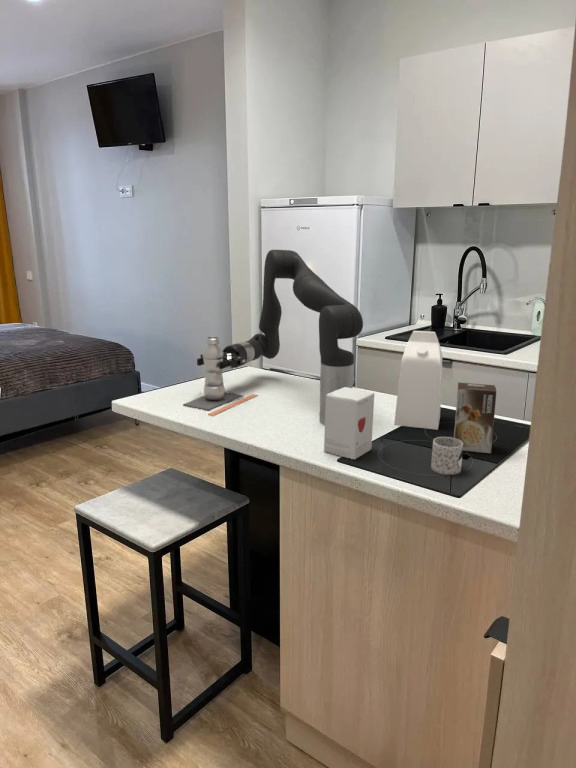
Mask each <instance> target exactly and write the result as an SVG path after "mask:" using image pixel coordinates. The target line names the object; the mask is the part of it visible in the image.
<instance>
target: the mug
mask: <svg viewBox="0 0 576 768" xmlns="http://www.w3.org/2000/svg"><path fill="white" fill-rule="evenodd" d="M430 462H431V464H430V469H431V470H432V471H433V472H435V473H438V474H439V475H440V474H441V475H445V476H454V475H455V476H456V475H458V474H461V472H462V462H463V442H462V441H461V440H459V439H456V438H454V437H452V436H437V437H435V438H434V439H433V441H432V450H431V461H430Z"/></svg>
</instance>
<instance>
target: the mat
mask: <svg viewBox="0 0 576 768" xmlns="http://www.w3.org/2000/svg"><path fill="white" fill-rule="evenodd" d="M241 397H244V396H243V394H242V393H241V394H239V393H234V392H229V391H225V395H224V397H223V398H222V399H219V400H209V399H207V398H206V397H205V395H203V396H201V397H197V398H195V399H193V400H190V401H187V402H185V403H183V404H182V407H186V406H187V408H191V407H192V409H196V408H197V409H196V410H201V409H202V410H203V411H206V412H207V411H208V412H211V411H212V410H215V409H217V408H219V407H221V406H223V405H224V406H225V405H227V404H229V403H230V402H231V403H232V402H233V401H235V400H239V398H241ZM202 410H201V411H202Z"/></svg>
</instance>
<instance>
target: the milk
mask: <svg viewBox="0 0 576 768" xmlns="http://www.w3.org/2000/svg"><path fill="white" fill-rule="evenodd" d="M442 377H443V352H442V349H441V345H440V341H439V339H438V336H437V334H436V332H435V331H424V330H423V331H422V330H413V331H412V333H411V334H410V337H409V339H408V341H407V344H406V346H405V349H404V352H403V354H402V357H401V361H400V369H399V378H398V388H397V396H396V405H395V412H394V414H395V415H394V422H393V423H394V426H401V427H409V428H410V427H411V428H418V429H419V428H420V429H428V430H437V431H438V430H439V425H440V419H441V406H442V405H441V403H442V382H443V381H442V380H443V379H442Z"/></svg>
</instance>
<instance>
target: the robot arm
mask: <svg viewBox="0 0 576 768" xmlns="http://www.w3.org/2000/svg"><path fill="white" fill-rule="evenodd" d="M265 256H266V257H265V261H264V268H263V270H264V271H263V286H262V287H263V288H262V289H263V290H262V291H263V292H262V293H263V294H262V307H261V312H260V313H261V314H260V318H259V325H258V329H259V331H260V332H261V333H255V334H254V335H253V336H252V337H251V338H250V339H248V340H246V341H241V342H237V343H234V344H230V345H227V346H225V347H224V348H223V349H222V351H223V354H224V357H223V361H221V362H219V369H222V370H223V369H227V368H231V369H236V368H239V367H242V366H244V365H246V364H248V363H250V362H253V361H256V360H258V359H259V358H261V356H262V357H264V358H266V359H269V360H272V359H275V357H277V355H278V354H279V353H280V352H279V351H280V348H281V344H280V330H279V329H280V323H281V319H282V313H283V312H282V305H281V303H280V301H279V298H278V295H277V293H276V288H275V282H276V279H284V280H285V279H291V280H294V281H293V282H292V283H293V284H292V291H293V294H294V296H295V297H296V299H297V300H298V301H299V302H300V303H301V305H303V306H304V307H306V308H307V309H309V310H312V311H314V312H317V313H318V314H319V317H318V336H319V337H318V339H319V343H318V344H319V345H318V346H319V348H318V349H319V355H320V373H319V374H320V375H319V376H320V378H319V381H320V382H319V418H318V421H319V423H320V424H321V425H324V426H325V408H326V394H329V393H331V392H334V391H335V390H339V389H341V388H344V387H348V388H353V389H354V370H355V369H354V368H355V367H354V366H355V365H354V364H355V355H354V353H353V352H352V351H349V350H346V349H343V348H341V347H339V340H345V339H353V338H355V337H357V336H359V335H360V334H361V332H362V331H363V327H364V321H363V320H364V318H363V316H362V313H361V312H360V310H359V309H358V308H357V307H356V306H355V305H354V304H353V303H351V302H350V301H348V300H347V299H345V298H344V297H342V296H341V295H339V294H338V293H337V292H335V290H334V289H332V287H330V286H329V284H327V283H326V282H325V281H324V280H323V279H322V278H321V277H320V276H319V275H318V274H316V273H315V272H314V271H313V270H312V269H311V268H310V267H309V266H308V265H307V263H306V262H305V261H304V260H303V258H302V257H301V255H300V254H299V253H297V252H296V251H294V250H291V249H290V250H289V249H288V250H287V249H270V250H269V251H268V252H267V253H266V255H265ZM196 364H197V366H198V367H199V366H200V367H201V366H203V365H204V361H203V353H202V354H200V355H199V357H198V358H197V359H196Z"/></svg>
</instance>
